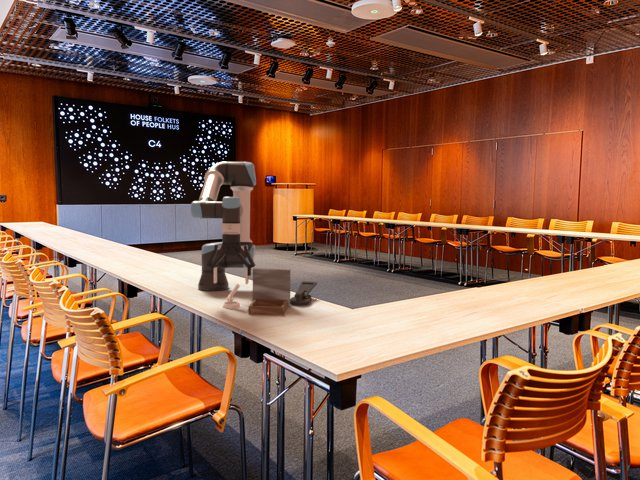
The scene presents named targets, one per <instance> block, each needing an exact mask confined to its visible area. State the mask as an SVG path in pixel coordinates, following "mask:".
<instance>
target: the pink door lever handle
mask: <svg viewBox="0 0 640 480" xmlns="http://www.w3.org/2000/svg"><path fill="white" fill-rule="evenodd" d="M240 287H241V285H239V283H237V284H235V286H234V287H233V289H232V290H231V291H230V293H229V294H228V295H227V298H226V301H224V302H223V303H222V306H221V307H222V308H224V309H238V308H241V305H240V302H239V301H236V300H235V299H234V295H235V294H236V293H237V291H238V289H240ZM234 300H235V301H234Z"/></svg>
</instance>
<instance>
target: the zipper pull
mask: <svg viewBox="0 0 640 480" xmlns="http://www.w3.org/2000/svg"><path fill="white" fill-rule="evenodd" d="M317 285H318V282H316V281H308V280H306V281H305V280H304V281H301V282H300V284H299V286H298V288H297V291H296V292H295V294H294V296H293V297H290V306H294V307H308V306H310V305H311V302H312V295H311V294H310V293H311V292H312V290H313V289H314V288H315V287H316V286H317ZM307 305H308V306H307Z"/></svg>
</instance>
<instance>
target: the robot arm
mask: <svg viewBox="0 0 640 480" xmlns="http://www.w3.org/2000/svg"><path fill="white" fill-rule="evenodd" d="M203 179H204V184H203V187H202V190H201V192H200V195H199V198H198V200H194V201H192V202H191V203H190V213H191V214H190V215H191V217H192V218H194V219H222V224H221V225H222V226H221V227H222V228H221V231H222V233H223V234H221V237H222V239H221V240H222V241H220V242H219V241H218V242H210V243H205V244H203V245H202V246H201V275H200V278H199V281H198V285H197V287H198V290H200V291H207V292H209V291H210V292H215V291H217V292H218V291H219V292H220V291H224V290H228V289H229V287H230V286H229V285H230V284H229V281H228V278H227V274H226V269H245V280H244V281H245V285H248V284H249V277H250V276H251V275H252V268H254V267H256V263H255V255H256V245H255V244H253V241H252V239H251V238H250V237H251V236H250V234H251V231H250V230H251V192H252V191H253V190H254V186H256V185H257V176H256V170H255V165H254V163H252V162H250V161H220V162H217V163H215V164H213V165H211V167H209V168H208V170H207V171H206V172H205V175H204V177H203ZM222 185H230V190H232V194H233V195H232V196H223V198H222V201H217V200H218V197H219V192H220V190H221V189H220V188H221V186H222Z"/></svg>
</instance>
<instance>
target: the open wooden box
mask: <svg viewBox="0 0 640 480" xmlns="http://www.w3.org/2000/svg"><path fill="white" fill-rule="evenodd" d="M291 273H292V272H291V269H287V268H285V269H284V268H281V269H280V268H254V267H253V269H252V301H251V303H250V304H249V305H248V306H247V307H248V311H247V312H248V315H260V316H261V315H263V316H264V315H265V316H266V315H267V316H284V315H285V313H286V310H287V309H288V308H290V307H291V305H290V299H291V282H292V281H291V279H292V278H291Z"/></svg>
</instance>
